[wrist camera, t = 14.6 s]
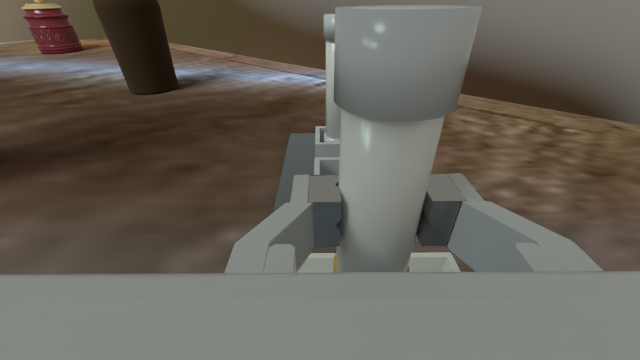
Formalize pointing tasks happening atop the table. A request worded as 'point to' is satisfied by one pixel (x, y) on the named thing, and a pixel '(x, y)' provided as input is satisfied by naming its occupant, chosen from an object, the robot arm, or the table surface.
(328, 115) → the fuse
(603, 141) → the table surface
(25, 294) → the robot arm
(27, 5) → the canister
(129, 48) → the olive oil
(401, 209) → the cylinder
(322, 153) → the fuse board
